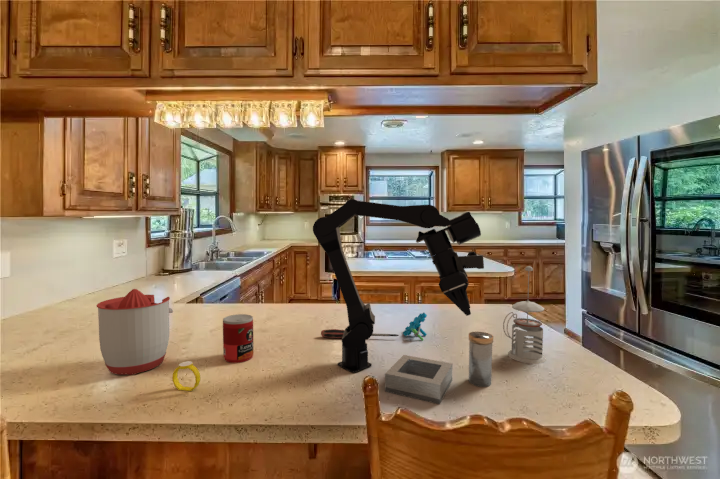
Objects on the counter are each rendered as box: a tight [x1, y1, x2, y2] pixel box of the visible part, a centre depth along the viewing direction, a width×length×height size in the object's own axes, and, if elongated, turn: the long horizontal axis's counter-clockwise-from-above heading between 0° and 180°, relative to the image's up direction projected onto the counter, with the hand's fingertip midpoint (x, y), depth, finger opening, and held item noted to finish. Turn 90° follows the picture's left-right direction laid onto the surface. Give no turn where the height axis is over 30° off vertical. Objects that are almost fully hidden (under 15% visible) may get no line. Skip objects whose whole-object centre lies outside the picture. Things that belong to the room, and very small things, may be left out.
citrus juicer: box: [96, 288, 174, 376], centre depth 91 cm, size 16×17×20 cm
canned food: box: [222, 313, 254, 364], centre depth 96 cm, size 8×8×11 cm
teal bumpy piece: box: [402, 312, 428, 341], centre depth 114 cm, size 11×6×10 cm
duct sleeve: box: [468, 331, 494, 388], centre depth 82 cm, size 5×5×11 cm
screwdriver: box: [320, 328, 400, 339], centre depth 112 cm, size 25×3×3 cm, turn 86°
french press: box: [502, 265, 547, 365], centre depth 97 cm, size 10×12×25 cm
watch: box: [171, 360, 201, 392], centre depth 78 cm, size 6×3×6 cm, turn 80°
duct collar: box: [384, 354, 453, 405], centre depth 80 cm, size 12×12×4 cm
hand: (468, 311), depth 85 cm, fingers open, 9 cm apart
